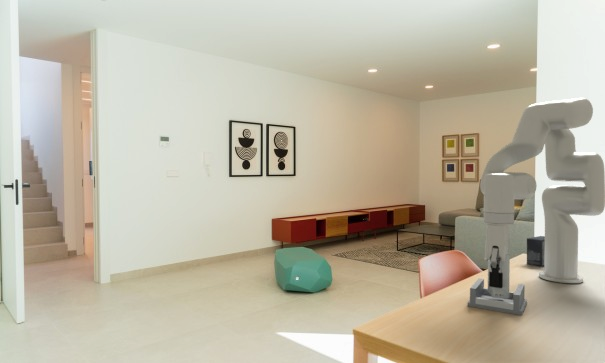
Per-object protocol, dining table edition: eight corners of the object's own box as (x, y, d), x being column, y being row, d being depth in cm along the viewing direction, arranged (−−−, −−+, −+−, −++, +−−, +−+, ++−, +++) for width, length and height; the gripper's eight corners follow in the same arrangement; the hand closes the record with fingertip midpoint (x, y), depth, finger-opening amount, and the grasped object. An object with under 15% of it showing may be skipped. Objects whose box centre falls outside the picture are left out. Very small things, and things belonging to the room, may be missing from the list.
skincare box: (509, 299, 108) (510, 254, 108) (492, 298, 109) (492, 253, 109) (503, 292, 114) (503, 249, 114) (487, 291, 115) (487, 249, 114)
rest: (476, 294, 120) (476, 278, 120) (526, 302, 113) (527, 284, 113) (467, 306, 110) (467, 287, 110) (522, 315, 103) (522, 295, 103)
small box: (540, 260, 166) (540, 235, 166) (556, 263, 161) (557, 237, 161) (525, 264, 161) (525, 237, 161) (542, 267, 155) (542, 239, 155)
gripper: (489, 215, 120) (488, 275, 121) (477, 221, 106) (477, 289, 106) (517, 216, 116) (517, 278, 116) (509, 223, 102) (509, 294, 102)
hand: (498, 283), depth 111 cm, fingers closed on skincare box, 7 cm apart
